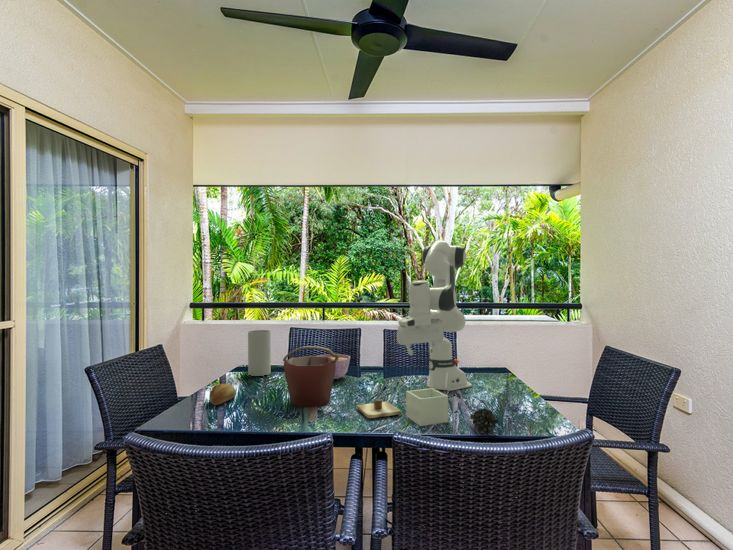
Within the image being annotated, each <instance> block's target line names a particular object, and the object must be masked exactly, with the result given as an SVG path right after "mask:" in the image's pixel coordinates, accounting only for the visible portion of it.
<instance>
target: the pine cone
mask: <svg viewBox="0 0 733 550" xmlns="http://www.w3.org/2000/svg"><path fill="white" fill-rule="evenodd" d="M469 419H471V420H472V425H473V426H474V429H475V430H476V431H477V433H481V434H484V433H487V434H493V433H494V429H495V428H496V426H497V424H499V419H498V418H496V416H495V415H494V414H493V411H492V409H487V408H478V410H475V411H474V413H473V414H470V415H469Z"/></svg>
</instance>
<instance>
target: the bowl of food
mask: <svg viewBox="0 0 733 550" xmlns="http://www.w3.org/2000/svg"><path fill="white" fill-rule="evenodd" d="M335 354H336V355H337V356H338V357H339V359H338V360H337V362H336V369H335V374H334V379H337V380H339V378H340V379H341V378H342V377H344V376H345V375H346V373H348V369H349V366H350V360H351V356H350V355H348V354H341V353H339V354H338V353H335ZM318 356H321V357H331V358H332V359H333V360H334V359H335V356H331V355H330V354H329V353H325V354H320V355H318Z"/></svg>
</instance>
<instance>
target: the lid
mask: <svg viewBox="0 0 733 550" xmlns="http://www.w3.org/2000/svg"><path fill="white" fill-rule="evenodd" d="M356 409H357V410H358V411H359V412H360V413H362V414H363V415H364V416H365V417H366V418H367V419H375V418H381V417H389V416H396V415H402V412H401V410H400V409H398V408H397V407H396V406H395V405H393V404H391V402H389V401H383V400H382V399H381V398H376V399H374V401H373V402H371V403H364V404H356Z"/></svg>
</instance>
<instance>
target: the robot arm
mask: <svg viewBox="0 0 733 550" xmlns="http://www.w3.org/2000/svg"><path fill="white" fill-rule="evenodd" d="M421 259H422V263H424V267H425V270H426V272H427V273H428V274H430V275H431V276H432V277H433V283H432V284H433V285H432V287H430V283H429V281H428V280H424V279H418V280H413V281H412V282H410V283H409V291H408V303H409V313H408V314H409V315H408V316H407V315H406V316H404V317H403V318H400V319H399V320H398V322H397V323H398V325H399V326H398V327H397V331H396V343H397V344H399V345H401V346H405V348H406V350H407V353H408V355H409V356H414V350H413V349H411V347H412V345H416V344H417V345H418V344H424V343H428V344H429V347H428V353H429V358H428V359H429V360H428V369H429V372H428V373H429V374H428V380H427V384H426V386H427V388H433V389H435V390H443V391H448V392H450V391H456V390H461V389H465V388H471V387H472V383H471V382H469V381H468V379H467V375H466V373H465V372H464V371H463V370H461V369H460V368H459V367H458V366H457V365H456V364H459V363H460V360H459V359H456V358H453V344H452V342H451V341H450V340H449V339H448V338H446V337H445V335H444V332H447V333H448V332H449V333H454V332H455V333H456V332H460V331H462V330H463V329H464V328H465V325H466V318H465V317H466V316H465V315H464V314H463V312H462V311H461V310H459V307H458V306H457V302H458V301H457V300H458V299H457V297H458V296H457V293H456V271H458V270H459V269H460V268H462V267H463V266H464V265H465V263H466V261H467V252H466V249H465V247H463V246H461V245H450V244H449V243H448V242H447V241H444V240H437V241H434V242H433V243H432V245H431V244H430V245H427V246H425V247H423V250H422V253H421Z"/></svg>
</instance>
